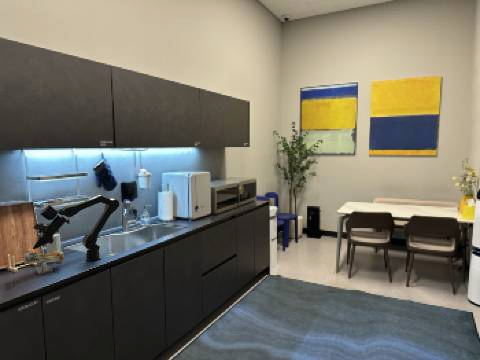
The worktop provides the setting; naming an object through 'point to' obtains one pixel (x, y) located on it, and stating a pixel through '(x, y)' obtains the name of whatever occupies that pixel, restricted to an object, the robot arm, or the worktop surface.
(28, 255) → the lever
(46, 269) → the pivot stand
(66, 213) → the robot arm
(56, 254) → the ball
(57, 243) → the skincare box
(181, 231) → the worktop surface
